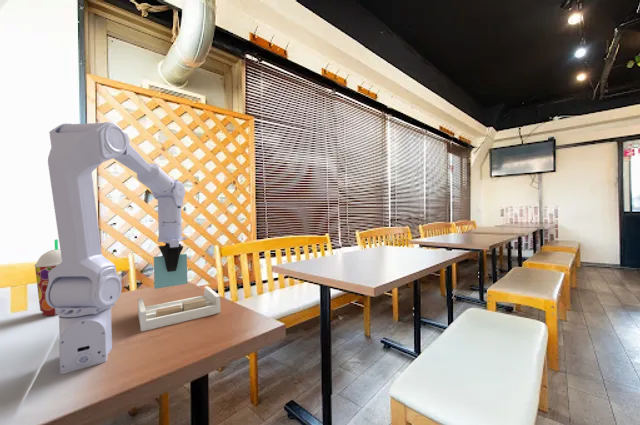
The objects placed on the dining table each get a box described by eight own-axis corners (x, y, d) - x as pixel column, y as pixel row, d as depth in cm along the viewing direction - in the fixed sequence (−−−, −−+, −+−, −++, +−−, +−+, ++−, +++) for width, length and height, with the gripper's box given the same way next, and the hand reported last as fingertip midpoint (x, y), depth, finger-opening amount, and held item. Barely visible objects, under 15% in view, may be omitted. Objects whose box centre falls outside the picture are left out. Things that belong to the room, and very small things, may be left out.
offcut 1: (181, 319, 65) (181, 307, 65) (157, 325, 62) (157, 312, 62) (179, 317, 66) (179, 304, 66) (156, 322, 63) (156, 309, 63)
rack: (220, 315, 69) (220, 296, 69) (141, 335, 59) (140, 312, 59) (208, 303, 78) (208, 286, 78) (138, 318, 68) (137, 298, 68)
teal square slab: (187, 283, 77) (186, 254, 77) (155, 288, 72) (154, 257, 72) (186, 282, 78) (185, 253, 78) (154, 287, 74) (153, 256, 74)
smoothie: (72, 304, 80) (70, 237, 79) (83, 309, 75) (81, 238, 75) (31, 314, 72) (29, 240, 72) (41, 320, 68) (39, 241, 68)
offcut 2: (205, 313, 68) (205, 300, 68) (184, 318, 65) (183, 304, 65) (203, 311, 70) (203, 298, 70) (182, 316, 67) (182, 302, 67)
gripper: (190, 222, 72) (192, 272, 72) (181, 221, 84) (182, 264, 84) (160, 223, 68) (161, 277, 68) (154, 222, 79) (156, 268, 80)
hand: (171, 270), depth 76 cm, fingers closed on teal square slab, 2 cm apart
